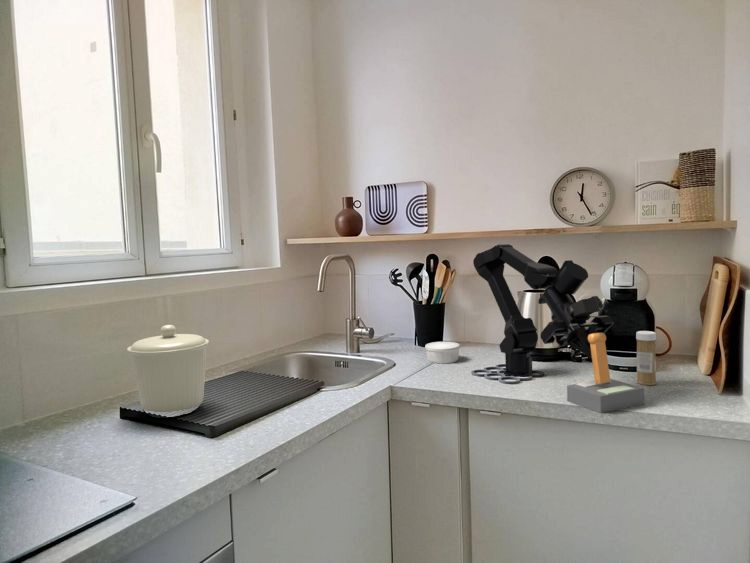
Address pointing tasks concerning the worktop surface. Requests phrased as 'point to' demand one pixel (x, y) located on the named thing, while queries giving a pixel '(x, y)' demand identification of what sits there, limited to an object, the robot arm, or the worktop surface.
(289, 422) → the worktop surface
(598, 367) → the lever
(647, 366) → the sprinkles bottle
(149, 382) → the canister
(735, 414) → the worktop surface
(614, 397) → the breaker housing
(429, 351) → the ramekin
